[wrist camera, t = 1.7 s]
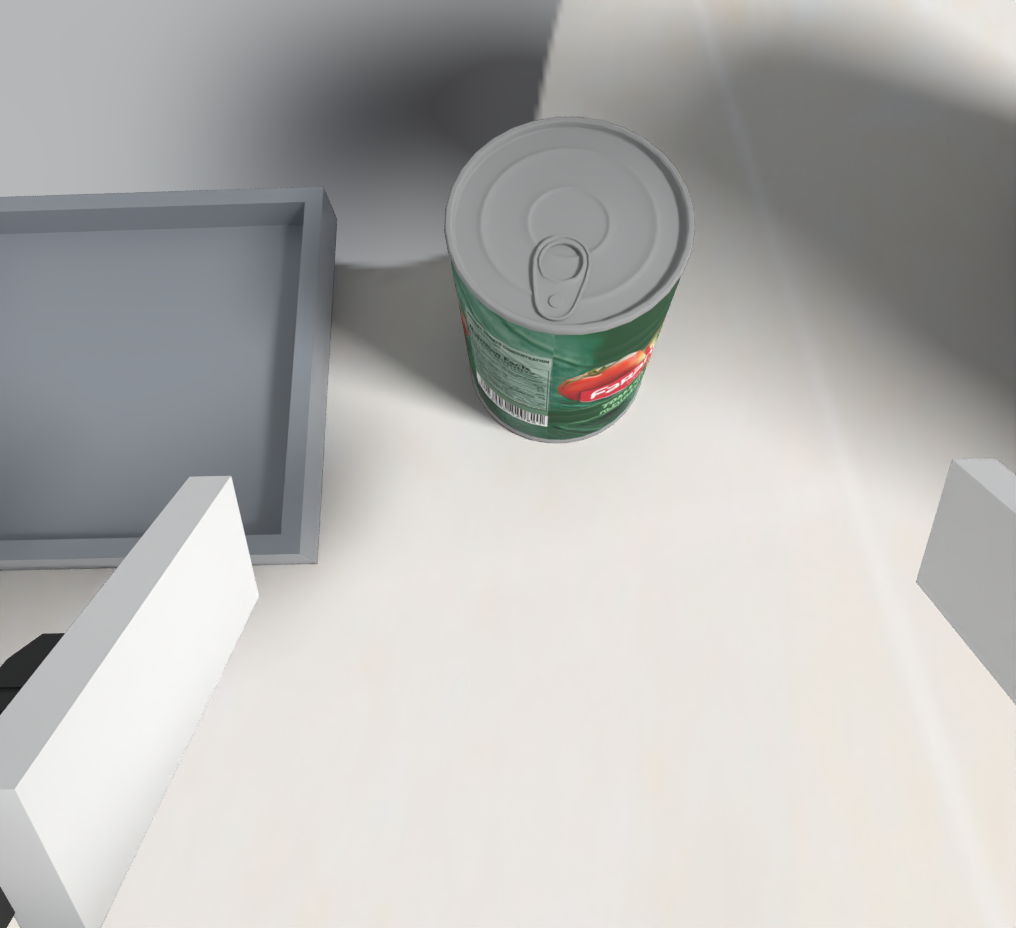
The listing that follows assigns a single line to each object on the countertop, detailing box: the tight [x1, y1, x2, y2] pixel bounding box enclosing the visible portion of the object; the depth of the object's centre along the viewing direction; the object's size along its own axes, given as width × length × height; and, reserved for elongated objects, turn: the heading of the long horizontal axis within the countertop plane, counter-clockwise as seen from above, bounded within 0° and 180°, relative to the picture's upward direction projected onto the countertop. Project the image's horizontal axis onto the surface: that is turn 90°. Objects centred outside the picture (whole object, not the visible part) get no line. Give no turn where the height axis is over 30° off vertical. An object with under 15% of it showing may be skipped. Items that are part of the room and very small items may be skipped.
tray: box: [0, 186, 337, 571], centre depth 32 cm, size 17×17×2 cm
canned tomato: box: [444, 117, 695, 443], centre depth 28 cm, size 8×8×11 cm
